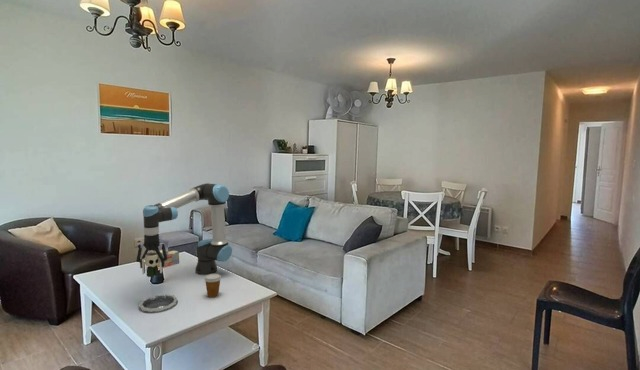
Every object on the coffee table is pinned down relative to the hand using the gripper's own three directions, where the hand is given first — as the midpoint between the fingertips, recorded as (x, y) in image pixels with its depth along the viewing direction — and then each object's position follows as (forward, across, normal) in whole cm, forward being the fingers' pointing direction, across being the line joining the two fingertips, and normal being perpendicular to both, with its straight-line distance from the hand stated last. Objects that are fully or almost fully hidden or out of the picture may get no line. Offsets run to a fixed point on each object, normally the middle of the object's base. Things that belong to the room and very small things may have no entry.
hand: (152, 272), depth 193 cm
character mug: (+2, 0, 0) cm, 2 cm away
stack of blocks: (+18, +7, -63) cm, 66 cm away
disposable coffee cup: (+18, -32, -4) cm, 37 cm away
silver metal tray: (+17, -4, +4) cm, 18 cm away
